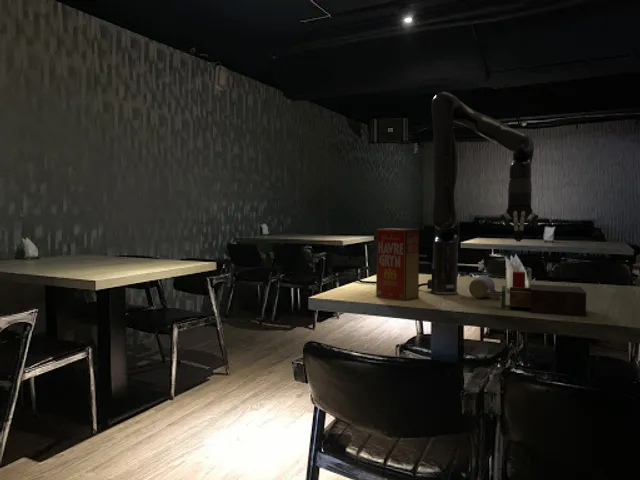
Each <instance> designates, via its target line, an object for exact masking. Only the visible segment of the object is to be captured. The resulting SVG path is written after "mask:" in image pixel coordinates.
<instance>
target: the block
mask: <svg viewBox="0 0 640 480" xmlns="http://www.w3.org/2000/svg"><path fill="white" fill-rule="evenodd" d="M511 287H520V288H526V271H517V270H516V271H512V286H511Z"/></svg>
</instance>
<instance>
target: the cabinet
mask: <svg viewBox="0 0 640 480" xmlns="http://www.w3.org/2000/svg"><path fill="white" fill-rule="evenodd" d="M529 288H530V289H531V308H529V310H530V313H535V314H550V315H563V316H575V317H577V316H579V317H586V316H587V292H586V291H585V289H583V288H582V287H581V286H572V285H571V286H570V285H569V286H568V285H553V284H552V285H549V284H535V283H534V284H532V283H530V284H529Z"/></svg>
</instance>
